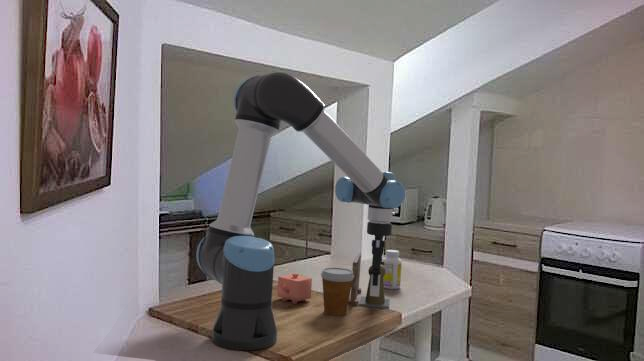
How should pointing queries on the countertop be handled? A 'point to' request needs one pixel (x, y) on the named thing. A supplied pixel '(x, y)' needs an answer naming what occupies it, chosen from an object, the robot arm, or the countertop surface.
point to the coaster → (364, 303)
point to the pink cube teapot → (294, 287)
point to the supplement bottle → (392, 269)
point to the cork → (381, 291)
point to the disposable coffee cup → (336, 290)
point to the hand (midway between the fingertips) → (375, 290)
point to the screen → (355, 280)
